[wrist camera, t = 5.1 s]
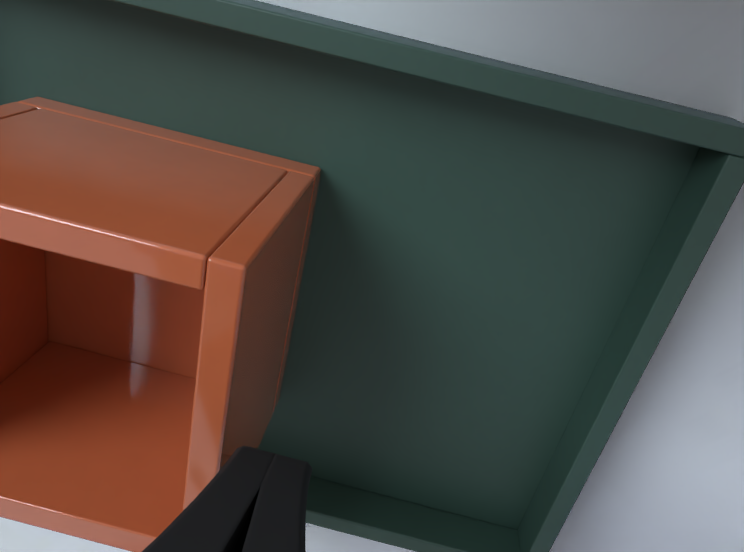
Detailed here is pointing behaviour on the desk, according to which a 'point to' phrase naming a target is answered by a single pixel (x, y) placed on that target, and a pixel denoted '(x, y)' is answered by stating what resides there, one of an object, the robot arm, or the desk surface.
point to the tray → (425, 245)
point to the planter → (136, 314)
